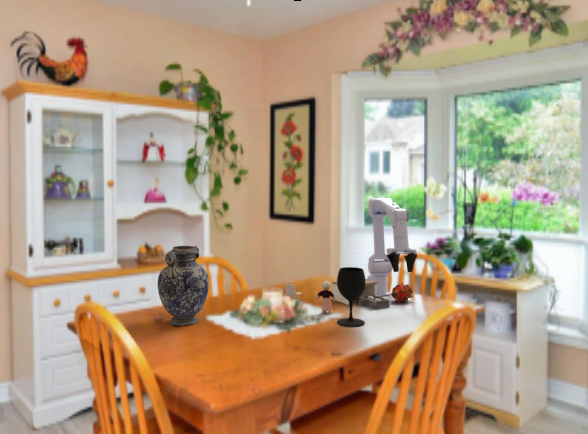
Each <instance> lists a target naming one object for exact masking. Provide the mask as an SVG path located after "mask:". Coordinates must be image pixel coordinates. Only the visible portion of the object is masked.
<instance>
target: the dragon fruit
mask: <svg viewBox="0 0 588 434" xmlns="http://www.w3.org/2000/svg"><path fill="white" fill-rule="evenodd" d="M391 289H392V290H391V292H390V293H391V294H390V296H391V297H392V299H394V303H400V302H403V303H406V302H408V301H409V299H412V298H413V297H414V295H412V294H413V293H414V291H413V290H412V289H413V288H412V286H410V285H409V284H404V283H403V282H401V284H398V283H397V284H396V285H395V286H394V287H393V288H391Z"/></svg>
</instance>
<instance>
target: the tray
mask: <svg viewBox="0 0 588 434" xmlns="http://www.w3.org/2000/svg"><path fill="white" fill-rule="evenodd" d="M390 300H391V299H389V298H385V297H383V296H376V295H368V296H360V297H359V298H358V305H361V306H363V307H366V308H369V309H372V310H379V309H387V308H390V304H391V303H390Z"/></svg>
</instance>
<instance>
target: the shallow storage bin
mask: <svg viewBox="0 0 588 434" xmlns="http://www.w3.org/2000/svg"><path fill="white" fill-rule="evenodd" d="M365 281H366V284H365V289H364V291H363V293H362V294H361V296H360V297H362V296H368V295H376V296H377V282H376V281H372V280H368V279H367V278H365ZM331 292H332V293H333V295H334V297H335V299H336V300H335V302H339V303H342V304H345V305H349V301H348V300H347V299H345V298H344V297H343V296H342V295H341V294H340V292H339V290H338V287H337V280H332V289H331Z"/></svg>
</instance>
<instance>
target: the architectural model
mask: <svg viewBox="0 0 588 434" xmlns="http://www.w3.org/2000/svg"><path fill="white" fill-rule="evenodd" d="M302 294H303V292H300V291H298V289H296V285H295V284H294V283H292V284H291V283H285V296H286V295H287V296H290V297H291V298H292V299H295V300H296V296H297V295H302Z"/></svg>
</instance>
